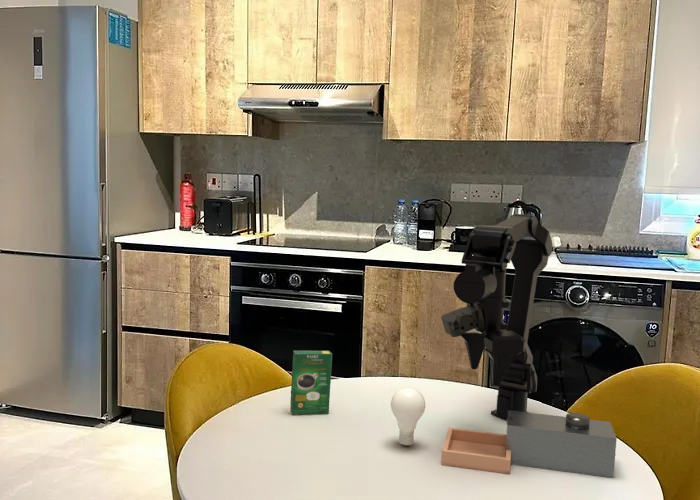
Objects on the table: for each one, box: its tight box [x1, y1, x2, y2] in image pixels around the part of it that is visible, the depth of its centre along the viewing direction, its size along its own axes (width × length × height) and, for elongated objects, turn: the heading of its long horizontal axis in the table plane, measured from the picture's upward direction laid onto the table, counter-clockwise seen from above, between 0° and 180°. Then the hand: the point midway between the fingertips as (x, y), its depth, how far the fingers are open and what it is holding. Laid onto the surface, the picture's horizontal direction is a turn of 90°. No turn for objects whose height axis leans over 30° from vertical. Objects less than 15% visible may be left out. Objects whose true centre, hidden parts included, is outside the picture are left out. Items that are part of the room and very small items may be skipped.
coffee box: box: [289, 350, 333, 416], centre depth 139 cm, size 8×3×13 cm, turn 102°
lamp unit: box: [505, 410, 618, 479], centre depth 120 cm, size 18×8×9 cm, turn 76°
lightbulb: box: [390, 386, 426, 447], centre depth 124 cm, size 6×6×11 cm
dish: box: [440, 426, 511, 475], centre depth 121 cm, size 12×12×2 cm
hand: (484, 376), depth 126 cm, fingers open, 9 cm apart
